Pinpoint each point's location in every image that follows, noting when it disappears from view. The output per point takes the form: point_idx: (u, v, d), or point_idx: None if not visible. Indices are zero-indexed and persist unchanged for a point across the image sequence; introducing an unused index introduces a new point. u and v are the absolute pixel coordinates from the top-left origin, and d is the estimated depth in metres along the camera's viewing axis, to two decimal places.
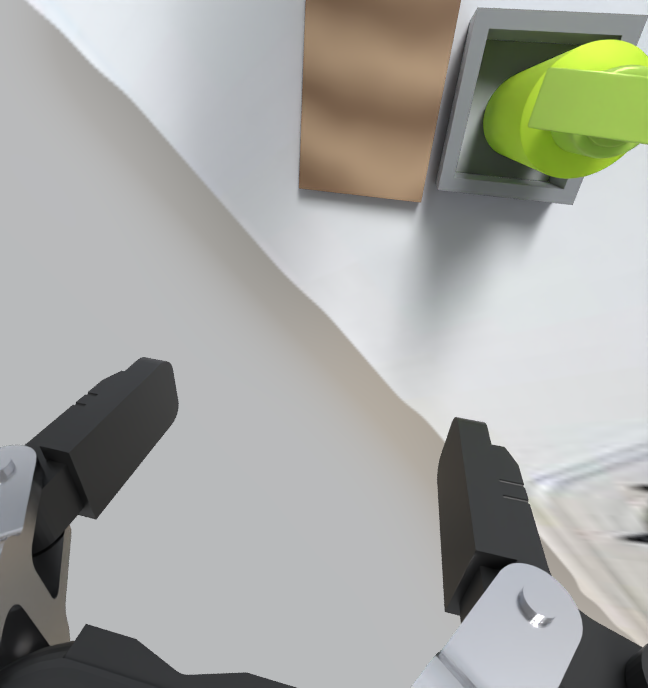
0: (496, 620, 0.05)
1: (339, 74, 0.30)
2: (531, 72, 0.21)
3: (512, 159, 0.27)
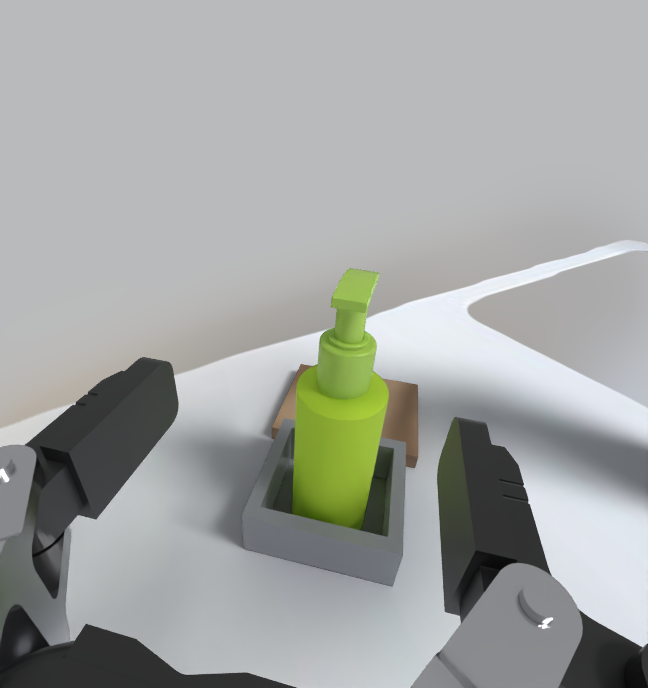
0: (496, 620, 0.05)
1: None
2: None
3: None
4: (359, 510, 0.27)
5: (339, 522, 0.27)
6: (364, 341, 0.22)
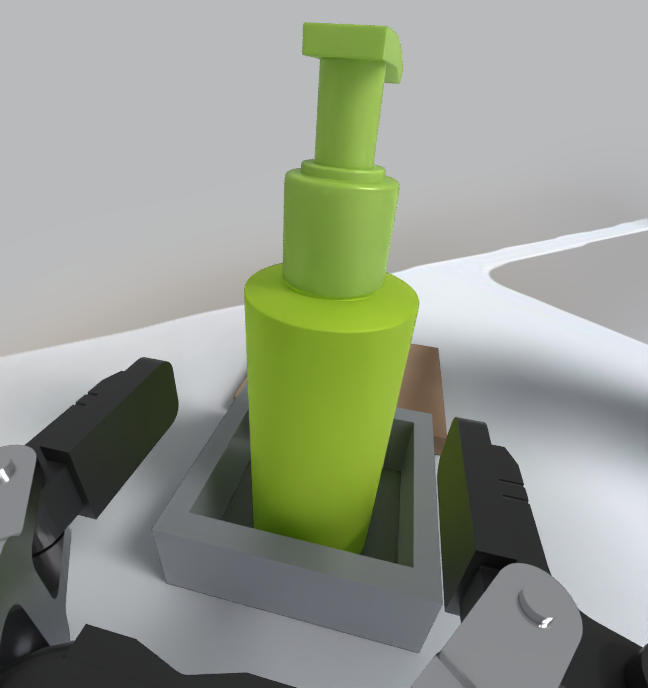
0: (496, 620, 0.05)
1: None
2: None
3: None
4: (361, 519, 0.16)
5: (326, 540, 0.16)
6: (375, 169, 0.10)
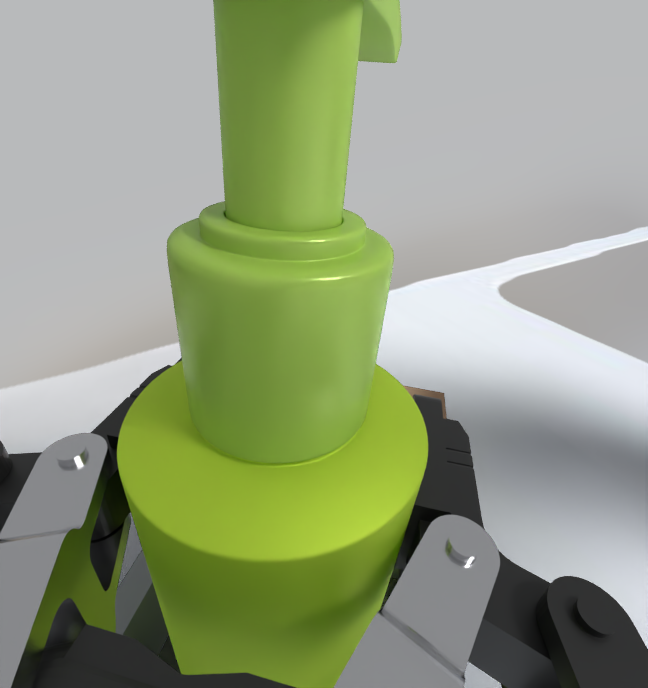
0: (422, 560, 0.06)
1: None
2: None
3: None
4: None
5: None
6: (343, 228, 0.05)
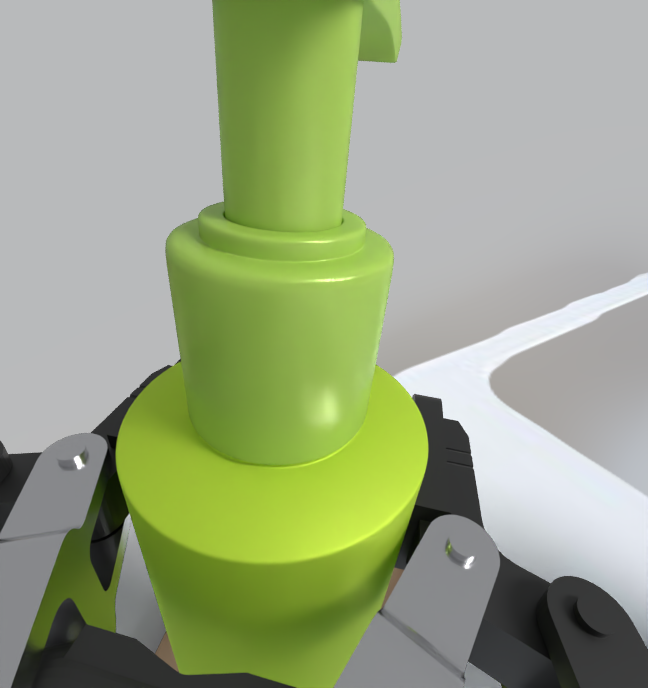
0: (422, 559, 0.06)
1: None
2: None
3: None
4: None
5: None
6: (343, 228, 0.05)
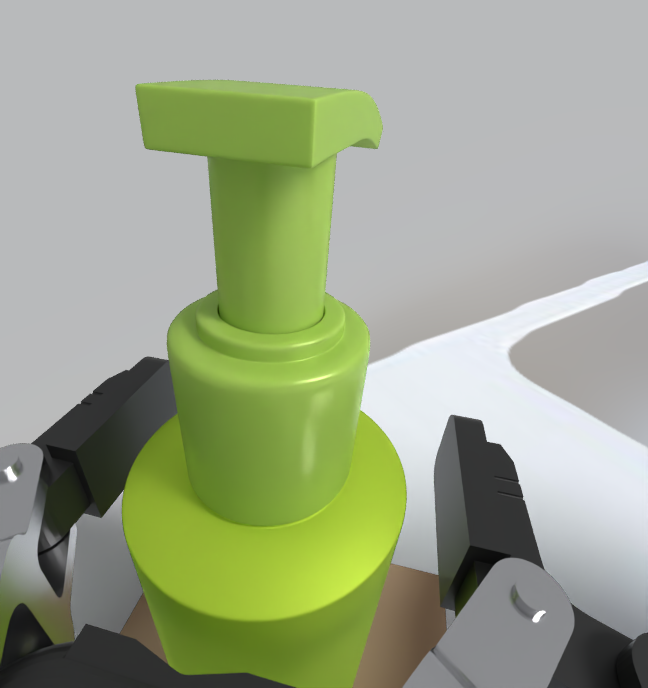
0: (489, 613, 0.06)
1: None
2: None
3: None
4: None
5: None
6: (324, 325, 0.06)
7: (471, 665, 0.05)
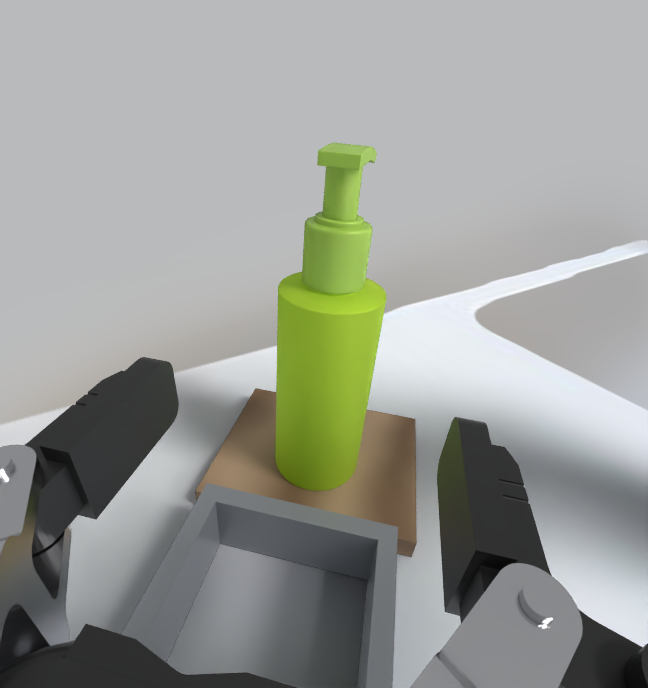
0: (496, 620, 0.05)
1: None
2: None
3: None
4: (351, 445, 0.24)
5: (327, 458, 0.23)
6: (357, 220, 0.18)
7: (477, 671, 0.05)
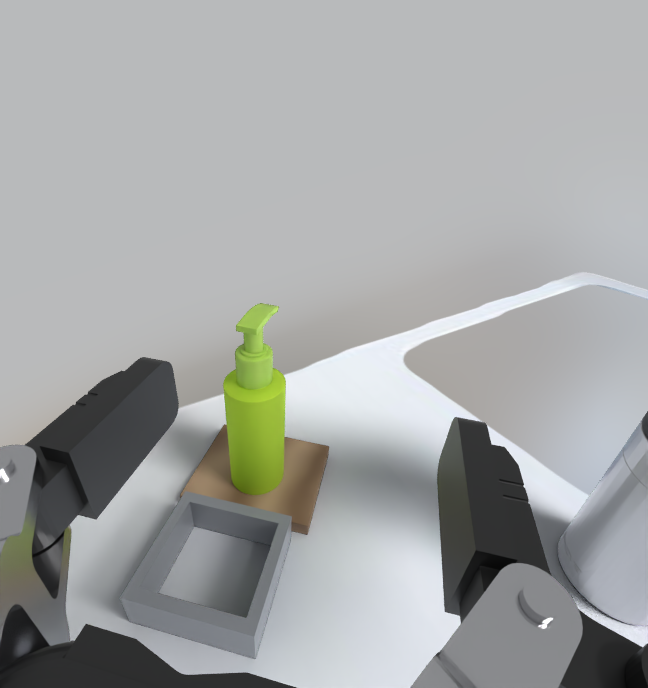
0: (496, 620, 0.05)
1: None
2: None
3: None
4: (272, 467, 0.40)
5: (258, 475, 0.39)
6: (262, 351, 0.34)
7: (477, 671, 0.05)
